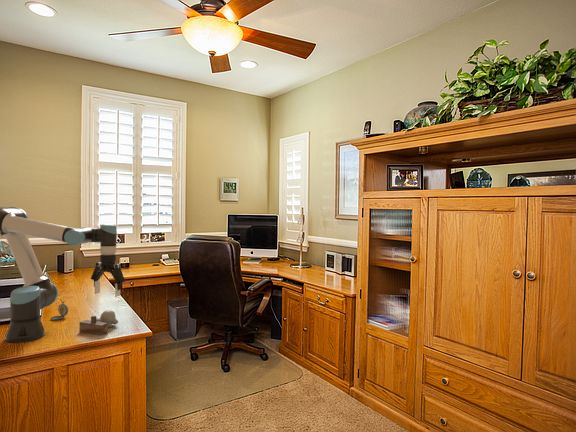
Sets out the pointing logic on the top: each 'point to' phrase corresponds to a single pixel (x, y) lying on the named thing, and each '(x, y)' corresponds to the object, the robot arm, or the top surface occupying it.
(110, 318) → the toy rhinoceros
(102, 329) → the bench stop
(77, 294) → the top surface
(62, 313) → the pocket watch
